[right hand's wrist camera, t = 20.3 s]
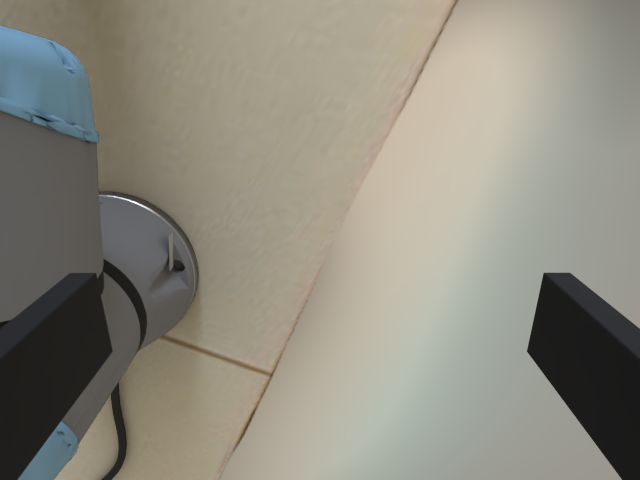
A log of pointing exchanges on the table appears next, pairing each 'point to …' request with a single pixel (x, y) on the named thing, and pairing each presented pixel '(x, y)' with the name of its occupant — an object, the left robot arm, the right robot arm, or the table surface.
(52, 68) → the right robot arm
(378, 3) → the table surface
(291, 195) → the table surface
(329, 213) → the table surface
